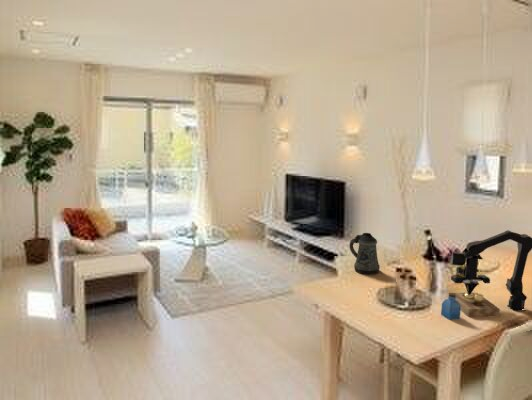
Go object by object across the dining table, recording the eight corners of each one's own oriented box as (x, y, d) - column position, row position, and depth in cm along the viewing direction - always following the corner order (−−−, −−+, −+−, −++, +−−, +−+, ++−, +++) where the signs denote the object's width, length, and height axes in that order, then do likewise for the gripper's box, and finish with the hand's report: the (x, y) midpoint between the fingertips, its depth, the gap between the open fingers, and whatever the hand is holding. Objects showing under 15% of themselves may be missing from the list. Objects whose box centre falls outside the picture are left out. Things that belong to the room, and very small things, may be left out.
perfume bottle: (449, 319, 214) (451, 296, 212) (440, 314, 220) (442, 292, 218) (459, 318, 216) (461, 295, 214) (451, 313, 222) (453, 291, 220)
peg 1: (469, 299, 236) (470, 292, 235) (473, 302, 232) (474, 295, 232) (462, 299, 236) (463, 292, 235) (466, 302, 232) (467, 295, 231)
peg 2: (480, 300, 226) (480, 293, 225) (484, 303, 222) (485, 296, 221) (472, 300, 226) (473, 293, 225) (476, 303, 222) (477, 296, 221)
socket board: (476, 299, 241) (477, 292, 240) (499, 316, 219) (500, 309, 218) (448, 299, 240) (448, 292, 239) (467, 316, 218) (468, 309, 218)
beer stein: (382, 275, 279) (384, 237, 275) (352, 274, 279) (354, 236, 275) (375, 267, 295) (377, 231, 291) (347, 266, 295) (348, 230, 291)
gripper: (480, 261, 239) (478, 288, 242) (447, 261, 238) (445, 288, 241) (492, 268, 228) (489, 296, 231) (457, 268, 228) (454, 296, 230)
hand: (468, 294), depth 233 cm, fingers closed, pressing on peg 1
